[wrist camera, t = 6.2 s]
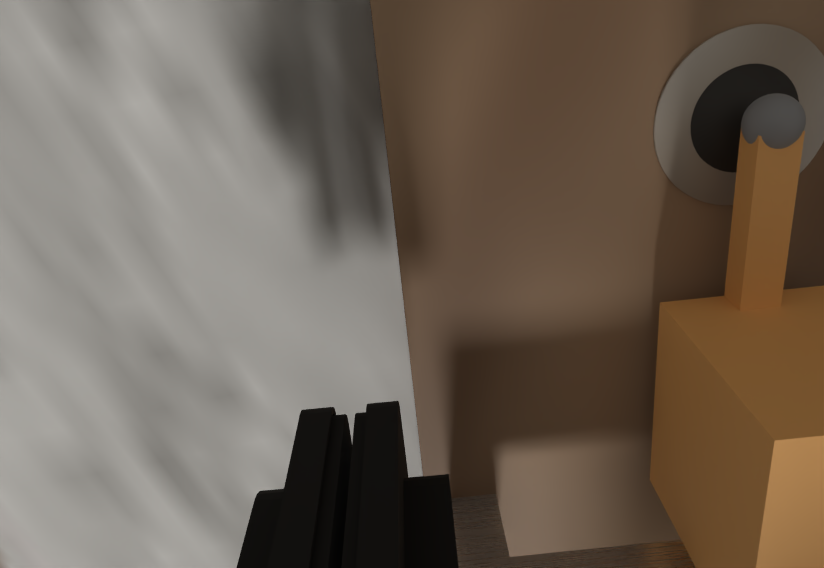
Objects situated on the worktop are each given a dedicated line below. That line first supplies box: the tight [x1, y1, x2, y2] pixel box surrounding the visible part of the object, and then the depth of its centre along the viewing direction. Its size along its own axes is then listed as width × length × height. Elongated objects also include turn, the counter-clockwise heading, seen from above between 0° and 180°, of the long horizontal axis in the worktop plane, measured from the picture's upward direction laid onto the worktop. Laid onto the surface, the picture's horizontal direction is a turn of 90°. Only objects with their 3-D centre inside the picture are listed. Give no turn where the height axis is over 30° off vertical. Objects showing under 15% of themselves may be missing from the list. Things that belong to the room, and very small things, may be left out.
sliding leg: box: [650, 93, 824, 568], centre depth 11 cm, size 3×10×4 cm, turn 6°
